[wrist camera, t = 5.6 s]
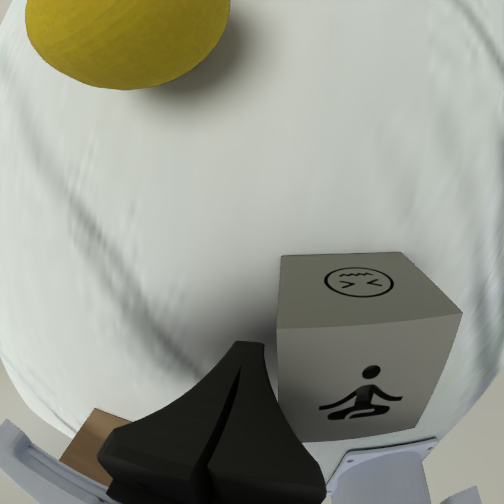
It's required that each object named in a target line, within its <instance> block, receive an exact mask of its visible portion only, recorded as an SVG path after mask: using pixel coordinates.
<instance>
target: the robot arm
mask: <svg viewBox="0 0 504 504" xmlns="http://www.w3.org/2000/svg"><path fill="white" fill-rule="evenodd" d="M264 346H265V345H264V344H263V343H258V342H246V341H236V342H234V344H233V345H232V347H231V348H230V349H229V351H228V352H227V353H226V354H225V356H224V357H223V358H222V359H221V360H220V361H219V363H218V364H217V365H216V366H215V367H214V368H213V369H212V370H211V371H210V372H209V373H208V374H207V375H206V376H205V377H204V378H203V379H202V380H201V381H200V382H199V383H197V384H196V385H195V386H194V387H193V388H192V389H190V390H189V391H188V392H186V393H185V394H184V395H182V396H181V397H180V398H178V399H177V400H175V401H173V402H172V403H170V404H169V405H167V406H166V407H164V408H162V409H160V410H158V411H156V412H154V413H152V414H150V415H148V416H146V417H144V418H142V419H140V420H137V421H134V422H132V423H129V424H126V425H123V426H120V427H117V428H114V429H113V430H112V432H111V433H110V434H109V435H108V437H107V438H106V440H105V441H104V443H103V445H102V446H101V448H100V450H99V451H98V453H97V455H96V456H97V460H98V462H99V463H100V465H101V466H102V467H103V468H104V469H105V470H106V471H107V473H108V474H109V475H110V476H111V477H112V478H113V480H112V482H111V484H110V486H109V487H107V486H105V485H102V484H100V483H98V482H96V481H94V480H92V479H90V478H88V477H87V476H85V475H83V474H81V473H79V472H77V471H76V470H74V469H72V468H70V467H69V466H67V465H65V464H64V463H62V462H60V461H59V460H57V459H56V458H54V457H52V456H51V455H49V454H48V453H46V452H45V451H43V450H42V449H41V448H39V447H38V446H36V445H35V444H33V443H32V442H31V440H30V439H29V438H28V436H27V435H25V433H24V432H23V431H22V430H20V428H18V427H17V426H16V425H14V424H13V423H12V422H11V421H10V420H9V419H6V420H5V421H4V422H3V423H2V425H1V426H0V470H1V471H2V472H3V473H4V474H5V475H6V476H7V477H8V478H10V479H11V480H12V481H13V482H14V483H15V484H16V485H17V486H18V487H19V488H20V489H21V490H23V491H24V492H25V493H26V494H27V495H28V496H30V497H31V498H32V499H33V500H34V501H36V502H37V503H38V504H105V503H106V504H321V503H322V501H323V500H324V499H325V498H326V496H332V504H431V500H430V495H429V490H428V486H427V482H426V477H425V473H424V469H423V465H422V461H423V460H424V459H425V458H426V456H427V455H428V454H429V453H430V452H431V451H432V450H433V449H434V447H435V446H436V445H437V444H438V440H437V439H431V440H426V441H422V442H417V443H412V444H407V445H401V446H395V447H388V448H381V449H372V450H362V451H352V452H349V453H347V454H346V455H345V456H344V458H343V460H342V462H341V463H340V465H339V467H338V468H337V470H336V471H335V473H334V475H333V476H332V478H331V479H330V481H329V482H328V484H327V485H326V484H325V480H324V477H323V474H322V471H321V469H320V466H319V464H318V463H317V461H316V460H315V459H314V458H313V457H312V456H311V455H310V453H309V452H308V451H307V450H306V448H305V447H304V446H303V444H302V443H301V442H300V440H299V439H298V438H297V436H296V435H295V433H294V431H293V430H292V428H291V427H290V425H289V423H288V422H287V420H286V418H285V416H284V414H283V413H282V411H281V408H280V406H279V404H278V402H277V400H276V397H275V395H274V392H273V389H272V387H271V384H270V381H269V377H268V373H267V369H266V365H265V359H264ZM440 504H481V500H480V496H479V493H478V489H477V486H473V487H471V488H468V489H466V490H464V491H461V492H459V493H456V494H454V495H453V496H450V497H448V498H447V499H445V500H444V501H442V502H441V503H440Z"/></svg>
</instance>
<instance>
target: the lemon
mask: <svg viewBox="0 0 504 504" xmlns="http://www.w3.org/2000/svg"><path fill="white" fill-rule="evenodd" d="M229 11H230V0H27V4H26V9H25V22H26V30H27V35H28V38H29V40H30V42H31V44H32V46H33V47H34V49H35V50H36V51H37V53H38V54H39V55H40V56H41V57H42V59H43V60H44V61H46V62H47V63H48V64H49V65H50V66H52V67H53V68H55V69H56V70H58V71H60V72H62V73H63V74H65V75H67V76H69V77H71V78H74V79H76V80H78V81H80V82H82V83H84V84H87V85H90V86H94V87H99V88H108V89H117V90H134V89H141V88H149V87H154V86H157V85H160V84H163V83H166V82H169V81H172V80H174V79H176V78H178V77H179V76H181V75H183V74H185V73H187V72H188V71H190V70H191V69H193V68H194V67H195V66H196V65H197V64H199V63H200V62H201V61H202V60H204V59H205V58H206V56H207V55H208V54H209V53H210V52H211V51H212V49H213V48H214V47H215V46H216V45H217V43H218V41H219V39H220V37H221V36H222V34H223V32H224V30H225V28H226V24H227V20H228V15H229Z"/></svg>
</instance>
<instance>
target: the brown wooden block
mask: <svg viewBox="0 0 504 504" xmlns="http://www.w3.org/2000/svg"><path fill="white" fill-rule="evenodd" d="M129 423H132V422H130V421H127V420H124V419H122V418H119V417H116V416H113V415H111V414H108V413H105V412H103V411H100V410H98V409H96V408H94V410H93V411H92V413H91V414H90V416H89V417H88V418H87V420H86V421H85V423H84V424H83V426H82V427H81V428H80V430H79V431H78V433H77V434H76V436H75V437H74V439H73V440H72V442H71V443H70V445H69V446H68V447H67V449H66V450H65V452H64V453H63V455H62V456H61V458H60V459H59V461H60V462H62V463H64V464H65V465H67V466H69V467H70V468H72V469H74V470H76V471H77V472H79V473H81V474H83V475H85V476H87V477H88V478H90V479H92V480H94V481H96V482H98V483H100V484H102V485H105V486H107V487H109V486H110V484H111V482H112V480H113V478H112V477H111V476H110V475H109V474H108V473H107V471H106V470H105V469H104V468H103V467H102V466H101V465H100V463H99V462H98V460H97V456H96V455H97V453H98V451H99V450H100V448H101V446H102V445H103V443H104V441H105V440H106V438H107V437H108V435H109V434H110V433H111V432H112V430H113V429H114V428H117V427H120V426H123V425H126V424H129Z"/></svg>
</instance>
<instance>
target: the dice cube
mask: <svg viewBox="0 0 504 504" xmlns="http://www.w3.org/2000/svg"><path fill="white" fill-rule="evenodd" d="M462 314H463V312H462V311H461V310H460V309H459V308H458V307H457V306H456V305H455V304H454V303H453V302H452V301H451V300H450V299H449V298H448V297H447V296H446V295H445V294H444V293H443V292H442V291H441V290H440V289H439V288H438V287H437V286H436V285H435V284H434V283H433V282H432V281H431V280H430V279H429V278H428V277H427V276H426V275H425V274H424V273H423V272H422V271H421V270H420V269H419V268H418V267H416V266H415V265H414V264H413V263H412V262H411V261H410V260H409V259H408V258H407V257H405V256H404V255H403V254H402V253H401V252H388V253H360V254H331V255H300V256H281V267H280V283H279V299H278V313H277V326H276V334H277V367H278V404H279V406H280V408H281V411H282V413H283V414H284V416H285V418H286V420H287V422H288V423H289V425H290V427H291V428H292V430H293V431H294V433H295V435H296V436H297V438H298V439H299V440H300V442H301V443H303V442H323V441H336V440H346V439H355V438H362V437H369V436H375V435H381V434H387V433H392V432H397V431H402V430H407V429H411V428H415V426H416V425H417V423H418V421H419V419H420V417H421V415H422V414H423V412H424V410H425V408H426V406H427V404H428V402H429V400H430V398H431V396H432V394H433V391H434V389H435V387H436V385H437V383H438V380H439V378H440V376H441V373H442V371H443V369H444V366H445V364H446V361H447V359H448V356H449V353H450V351H451V348H452V345H453V342H454V339H455V337H456V334H457V330H458V327H459V324H460V321H461V317H462Z"/></svg>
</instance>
